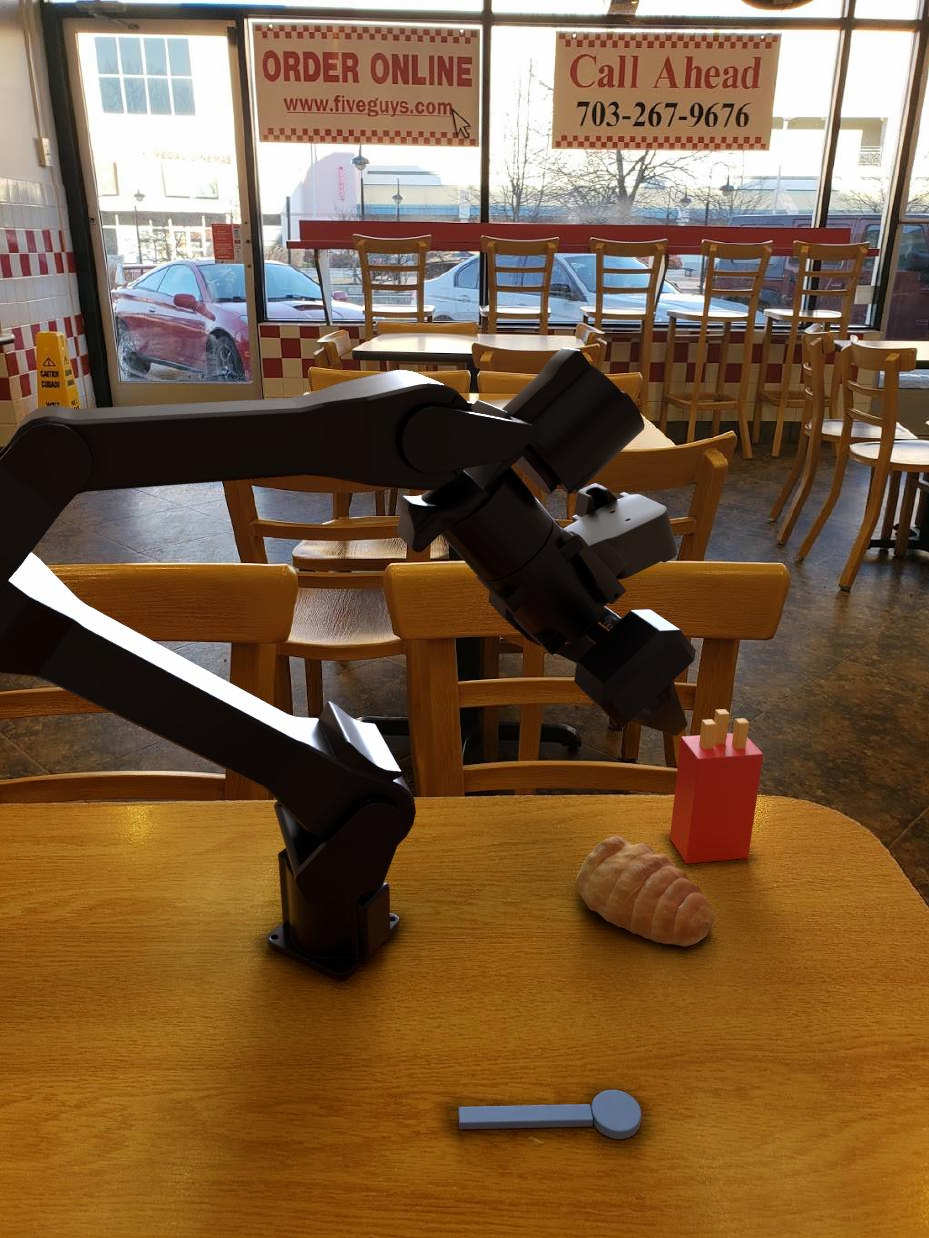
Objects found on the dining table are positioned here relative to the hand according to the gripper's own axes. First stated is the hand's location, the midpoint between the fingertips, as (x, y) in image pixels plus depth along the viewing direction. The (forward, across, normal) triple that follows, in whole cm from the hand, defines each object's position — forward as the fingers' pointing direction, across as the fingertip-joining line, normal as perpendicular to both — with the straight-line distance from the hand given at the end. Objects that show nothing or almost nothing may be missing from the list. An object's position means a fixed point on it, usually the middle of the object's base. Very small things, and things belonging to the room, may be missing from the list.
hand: (645, 699), depth 64 cm
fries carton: (+16, +1, +4) cm, 16 cm away
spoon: (+2, -18, +20) cm, 27 cm away
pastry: (+10, -4, +10) cm, 15 cm away
